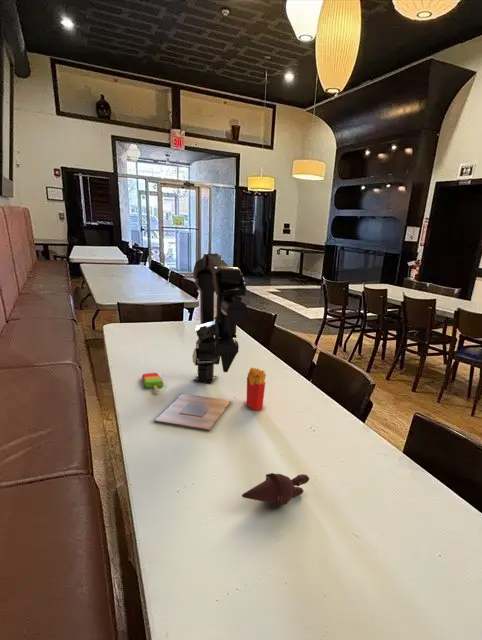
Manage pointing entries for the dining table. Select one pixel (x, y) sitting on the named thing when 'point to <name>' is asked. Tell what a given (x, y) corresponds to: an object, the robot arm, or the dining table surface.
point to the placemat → (193, 412)
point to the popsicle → (152, 381)
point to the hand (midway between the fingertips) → (224, 366)
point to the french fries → (255, 389)
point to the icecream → (277, 489)
